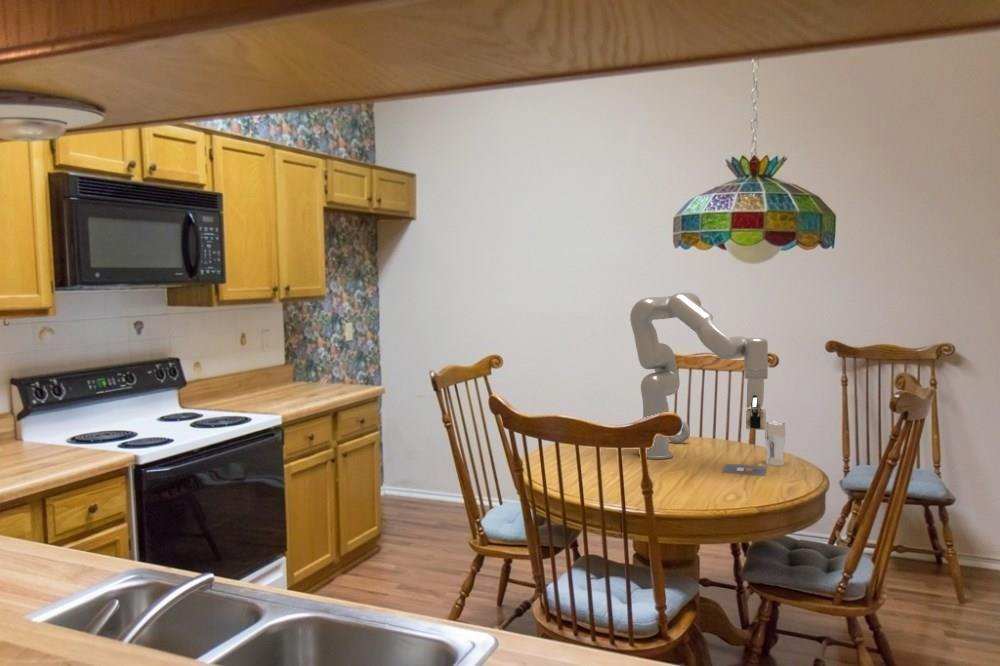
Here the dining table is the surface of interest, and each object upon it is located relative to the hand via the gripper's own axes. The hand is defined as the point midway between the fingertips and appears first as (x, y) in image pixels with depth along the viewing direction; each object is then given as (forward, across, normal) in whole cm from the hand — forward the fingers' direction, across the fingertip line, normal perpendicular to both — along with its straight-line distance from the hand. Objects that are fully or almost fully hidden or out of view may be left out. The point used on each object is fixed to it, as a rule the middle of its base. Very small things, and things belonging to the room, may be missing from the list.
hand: (756, 425), depth 256 cm
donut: (+16, -39, -33) cm, 53 cm away
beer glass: (+16, -13, +6) cm, 22 cm away
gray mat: (+16, 0, -4) cm, 16 cm away
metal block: (+1, 0, 0) cm, 1 cm away
